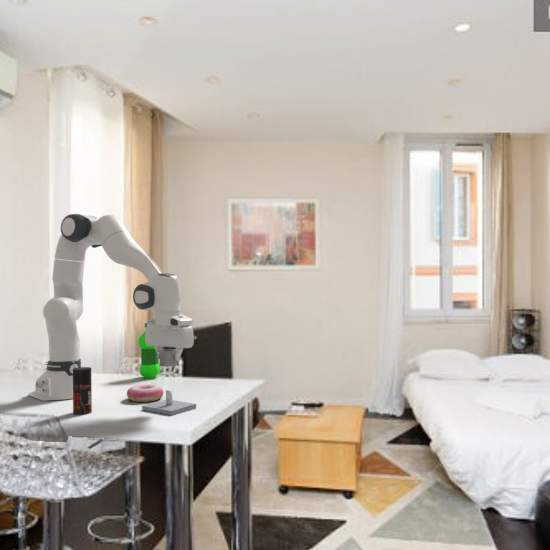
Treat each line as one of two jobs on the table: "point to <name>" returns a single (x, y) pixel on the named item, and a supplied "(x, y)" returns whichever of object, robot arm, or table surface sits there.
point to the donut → (145, 393)
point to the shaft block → (169, 405)
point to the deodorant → (82, 391)
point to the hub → (167, 358)
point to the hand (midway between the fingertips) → (169, 359)
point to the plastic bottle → (148, 359)
